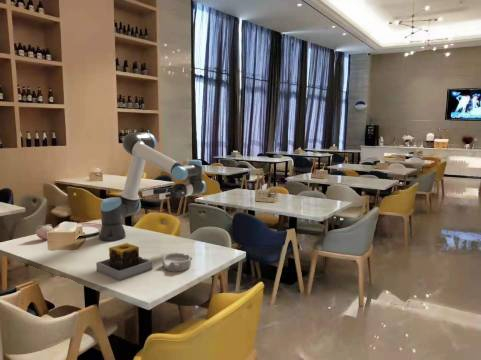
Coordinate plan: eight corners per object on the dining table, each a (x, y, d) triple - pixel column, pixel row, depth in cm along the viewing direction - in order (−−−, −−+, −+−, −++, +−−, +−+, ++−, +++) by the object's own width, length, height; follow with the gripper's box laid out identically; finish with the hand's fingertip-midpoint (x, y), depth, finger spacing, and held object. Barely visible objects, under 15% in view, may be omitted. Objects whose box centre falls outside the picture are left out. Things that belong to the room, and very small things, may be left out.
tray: (96, 270, 183) (96, 262, 182) (129, 260, 196) (129, 253, 196) (119, 280, 171) (118, 272, 171) (152, 269, 185) (152, 261, 184)
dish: (179, 274, 179) (179, 264, 179) (155, 269, 186) (155, 258, 185) (197, 264, 192) (197, 255, 191) (175, 260, 198) (175, 250, 198)
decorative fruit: (42, 243, 224) (41, 226, 223) (34, 240, 228) (32, 224, 227) (57, 239, 232) (56, 222, 231) (48, 236, 236) (47, 220, 235)
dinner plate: (114, 230, 251) (114, 225, 251) (78, 241, 228) (77, 236, 227) (86, 225, 265) (85, 220, 264) (48, 234, 241) (48, 229, 241)
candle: (121, 273, 177) (120, 252, 175) (108, 268, 183) (107, 247, 182) (140, 267, 185) (139, 246, 183) (127, 262, 191) (126, 242, 189)
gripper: (198, 199, 208) (167, 205, 192) (167, 194, 223) (136, 199, 207) (198, 185, 207) (167, 190, 190) (167, 180, 222) (136, 185, 206)
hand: (151, 195), depth 199 cm, fingers open, 13 cm apart
